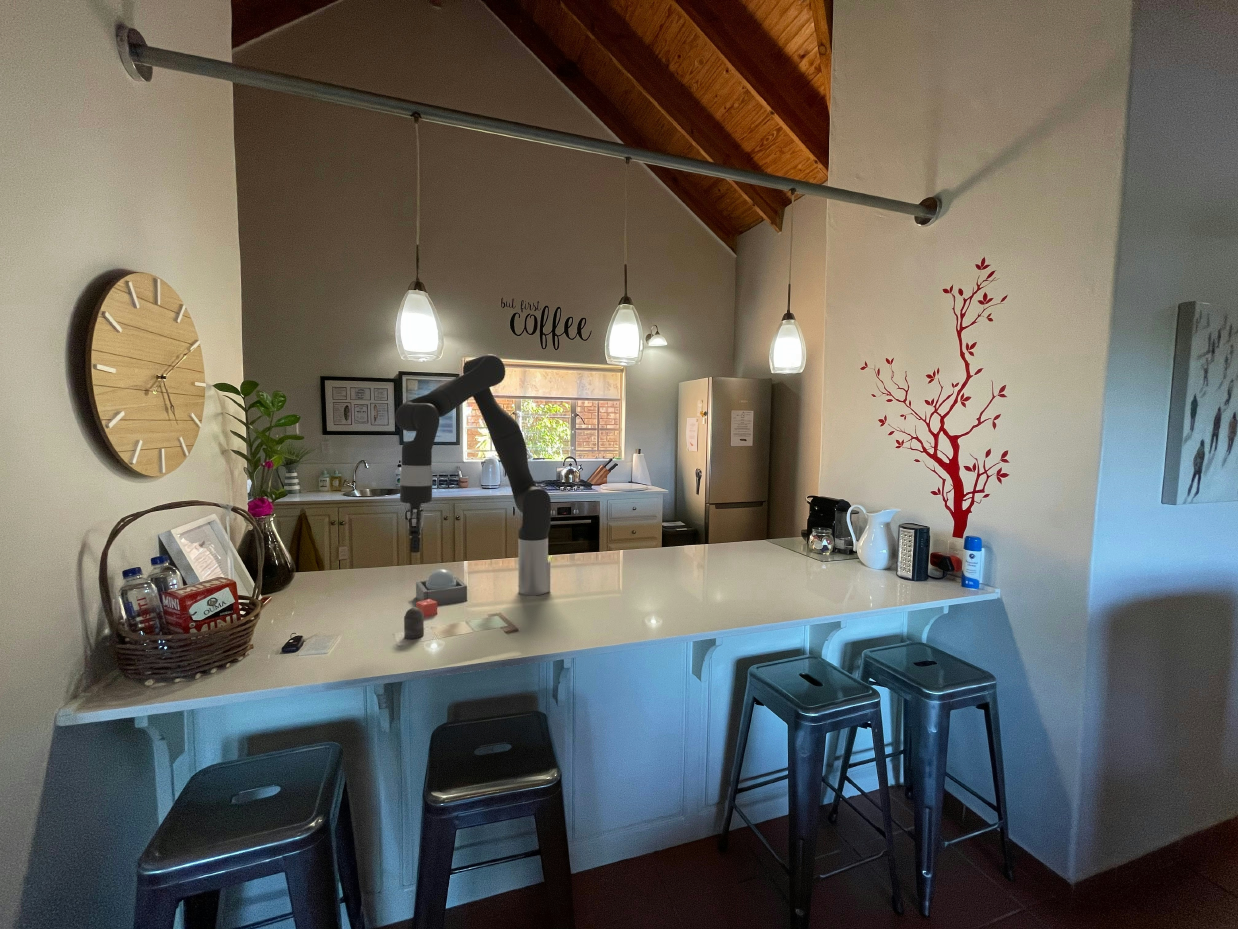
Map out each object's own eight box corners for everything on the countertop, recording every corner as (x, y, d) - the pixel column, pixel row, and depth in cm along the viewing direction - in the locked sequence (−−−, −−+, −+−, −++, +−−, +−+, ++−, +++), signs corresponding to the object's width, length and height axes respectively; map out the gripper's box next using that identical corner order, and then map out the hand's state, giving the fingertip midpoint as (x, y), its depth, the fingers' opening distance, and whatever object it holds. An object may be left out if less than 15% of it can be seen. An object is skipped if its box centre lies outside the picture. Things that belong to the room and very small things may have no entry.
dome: (452, 588, 170) (452, 564, 169) (459, 596, 162) (459, 570, 162) (423, 592, 165) (423, 567, 165) (429, 600, 158) (429, 574, 158)
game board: (500, 614, 151) (500, 611, 151) (518, 631, 139) (518, 627, 139) (383, 634, 136) (383, 631, 135) (392, 655, 124) (392, 651, 123)
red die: (430, 613, 151) (430, 598, 151) (437, 616, 149) (437, 601, 148) (416, 616, 148) (416, 601, 148) (423, 620, 146) (423, 605, 145)
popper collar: (456, 590, 173) (456, 576, 172) (467, 601, 162) (467, 586, 162) (415, 596, 166) (415, 581, 166) (424, 607, 156) (423, 592, 155)
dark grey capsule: (421, 631, 136) (421, 604, 135) (425, 637, 132) (425, 609, 131) (402, 634, 133) (402, 606, 133) (406, 641, 130) (405, 612, 129)
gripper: (431, 486, 131) (429, 557, 132) (433, 481, 144) (432, 546, 145) (397, 485, 129) (396, 558, 130) (402, 480, 142) (401, 547, 142)
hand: (415, 551), depth 137 cm, fingers closed
